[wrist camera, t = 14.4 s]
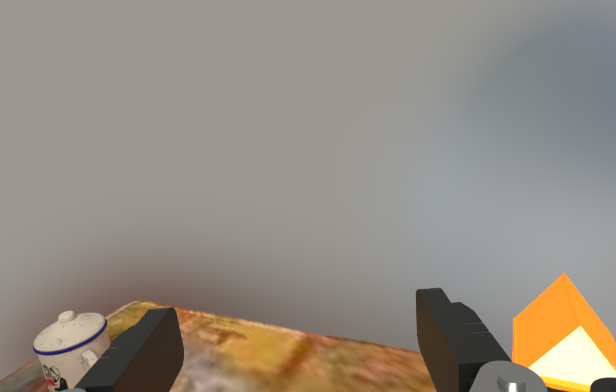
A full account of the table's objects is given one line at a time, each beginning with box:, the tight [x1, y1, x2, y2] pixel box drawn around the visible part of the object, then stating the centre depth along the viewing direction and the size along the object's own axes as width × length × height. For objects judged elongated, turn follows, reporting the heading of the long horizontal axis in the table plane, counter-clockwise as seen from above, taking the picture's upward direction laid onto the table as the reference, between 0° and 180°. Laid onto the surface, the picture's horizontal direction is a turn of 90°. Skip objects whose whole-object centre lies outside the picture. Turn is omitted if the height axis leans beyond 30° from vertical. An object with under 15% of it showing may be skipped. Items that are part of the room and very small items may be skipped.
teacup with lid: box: [33, 311, 111, 392], centre depth 53 cm, size 12×9×12 cm
